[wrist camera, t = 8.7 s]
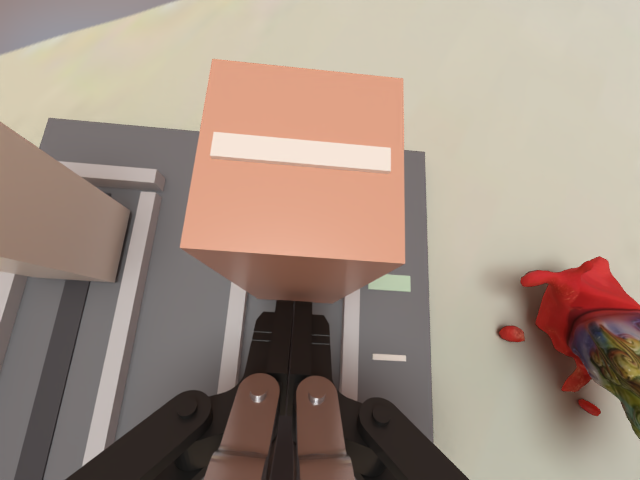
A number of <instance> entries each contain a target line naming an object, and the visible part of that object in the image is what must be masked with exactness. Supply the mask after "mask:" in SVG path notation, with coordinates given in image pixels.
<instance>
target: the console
mask: <svg viewBox="0 0 640 480" xmlns="http://www.w3.org/2000/svg"><path fill="white" fill-rule="evenodd" d="M199 133H200V132H199V131H188V130H177V129H166V128H155V127H144V126H133V125H122V124H111V123H100V122H89V121H78V120H66V119H55V118H49V119H48V122H47V125H46V128H45V131H44V135H43V138H42V141H41V144H40V147H39V149H41V150H42V151H44V152H45V153H47V154H48V155H50V156H51V157H53V158H54V159H56V160H57V161H58V162H60V163H61V164H63V165H64V166H66V167H67V168H69V169H70V170H72V171H73V172H75V173H76V174H77V175H79V176H80V177H82V178H83V179H85V180H86V181H88V182H89V183H91V184H92V185H94V186H95V187H97V188H98V189H99V190H101V191H102V192H104V193H105V194H107V195H108V196H110V197H111V198H113V199H114V200H116V201H117V202H118V203H120V204H121V205H123V206H124V207H126V208H127V209H129V210H130V215H129V220H128V224H127V229H126V233H125V238H124V242H123V247H122V251H121V256H120V261H119V265H118V270H117V274H116V279H115V283H113V282H97V281H82V280H66V279H50V278H35V277H29V276H23V275H18V274H12V273H7V272H1V271H0V480H65V479H67V478H68V477H69V476H70V475H72V474H73V473H74V472H76V471H77V470H78V469H80V468H81V467H82V466H84V465H85V464H86V463H88V462H89V461H90V460H92V459H93V458H94V457H96V456H97V455H98V454H100V453H101V452H102V451H104V450H105V449H106V448H107V447H109V446H110V445H111V444H113V443H114V442H115V441H117V440H118V439H119V438H121V437H122V436H123V435H125V434H126V433H127V432H129V431H130V430H131V429H133V428H134V427H135V426H137V425H138V424H139V423H141V422H142V421H143V420H145V419H146V418H147V417H148V416H150V415H151V414H152V413H154V412H155V411H156V410H158V409H159V408H160V407H162V406H163V405H164V404H166V403H167V402H168V401H170V400H171V399H172V398H174V397H175V396H176V395H178V394H180V393H182V392H185V391H188V390H199V391H202V392H204V393H205V394H207V396H212V395H216V394H220V393H223V392H226V391H228V390H230V389H232V388H234V387H235V386H236V385H237V384H238V383H239V382H240V381H241V379H242V378H243V376H244V372H245V368H246V363H247V359H248V354H249V350H250V345H251V341H252V336H253V333H254V327H255V323H256V320H257V318H258V317H259V316H260V315H261V313H262V312H263V311H264V312H275V308H276V301H277V300H267V299H257V298H256V297H254V296H253V295H251V294H250V293H248V292H247V291H245V290H243V289H242V288H240V287H239V286H237V285H236V284H234V283H233V282H231V281H230V280H228V279H227V278H225V277H224V276H222V275H221V274H219V273H217V272H216V271H214V270H213V269H211V268H210V267H208V266H207V265H205V264H204V263H202V262H201V261H199V260H198V259H196V258H194V257H193V256H191V255H190V254H188V253H187V252H185V251H184V250H182V249H181V248H180V243H181V237H182V231H183V226H184V220H185V214H186V208H187V203H188V197H189V191H190V185H191V179H192V174H193V168H194V162H195V156H196V150H197V145H198V139H199ZM404 201H405V264H404V265H402V266H400V267H398V268H396V269H395V270H393V271H391V272H389V273H387V274H386V275H384V276H382V277H380V278H378V279H376V280H375V281H373V282H371V283H369V284H367V285H365V286H364V287H362V288H360V289H358V290H356V291H354V292H353V293H351V294H349V295H347V296H345V297H343V298H342V299H340V300H338V301H336V302H334V303H333V304H331V303H315V302H312V314H314V315H324V316H325V318H326V320H327V321H328V323H329V327H330V347H331V366H332V380H333V383H334V385H335V387H336V388H337V390H338V391H339V392H340V393H341V394H343V395H344V396H346V397H348V398H350V399H353V400H355V401H358V402H361V403H363V402H364V401H365V400H367V399H369V398H372V397H380V398H384V399H386V400H388V401H390V402H392V403H393V404H394V405H395V406H396V407H397V408H398V409H399V410H400V411H401V412H402V413H403V414H404V415H405V416H406V417H407V418H408V419H409V420H410V421H411V422H412V423H413V424H414V425H415V426H416V427H417V428H418V429H419V430H420V431H421V432H422V433H423V434H424V435H425V436H426V437H427V438H428V439H429V440H430V441H431V442H432V443H433V413H432V380H431V346H430V312H429V278H428V245H427V211H426V177H425V152H420V151H409V150H404ZM294 312H295V301H294V307H293V323H292V337H293V324H294ZM292 337H291V349H292ZM291 349H290V361H289V374H290V362H291ZM289 374H288V386H287V398H286V410H285V415H279V424H278V439H277V445H276V451H275V457H274V462H273V468H272V474H271V480H293V445H292V439H293V438H292V434H291V427H292V416H287V405H288V390H289ZM204 477H205V476H204ZM204 477H203V478H202V479H201V480H204ZM354 479H355V480H357V479H356V478H355V477H354Z"/></svg>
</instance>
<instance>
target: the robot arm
mask: <svg viewBox="0 0 640 480" xmlns="http://www.w3.org/2000/svg"><path fill="white" fill-rule="evenodd" d="M293 307H294V301H291V300H277V301H276V308H275V312H264V311H263V312H262V313H261V315H260V316H259V317H258V318H257V320H256V323H255V327H254V333H253V336H252V341H251V345H250V350H249V354H248V359H247V363H246V368H245V372H244V376H243V378H242V379H241V381H240V382H239V383H238V384H237V385H236V386H235V387H234V388H232V389H230V390H228V391H226V392H223V393H220V394H216V395H212V396H207V394H205V393H204V392H202V391H199V390H188V391H185V392H182V393H180V394H178V395H176V396H175V397H174V398H172V399H171V400H170V401H168V402H167V403H166V404H164V405H163V406H162V407H160V408H159V409H158V410H156V411H155V412H154V413H152V414H151V415H150V416H148V417H147V418H146V419H145V420H143V421H142V422H141V423H139V424H138V425H137V426H135V427H134V428H133V429H131V430H130V431H129V432H127V433H126V434H125V435H123V436H122V437H121V438H119V439H118V440H117V441H115V442H114V443H113V444H111V445H110V446H109V447H107V448H106V449H105V450H104V451H102V452H101V453H100V454H98V455H97V456H96V457H94V458H93V459H92V460H90V461H89V462H88V463H86V464H85V465H84V466H82V467H81V468H80V469H78V470H77V471H76V472H74V473H73V474H72V475H70V476H69V477H68V478H67V479H65V480H201V479H202V478H203V477H204V476H205V477H204V480H271V474H272V468H273V462H274V457H275V451H276V445H277V439H278V424H279V415H285V410H286V398H287V386H288V374H289V361H290V349H291V337H292V323H293ZM287 416H292V427H291V434H292V438H293V439H292V445H293V480H355V479H354V477H355V478H356V479H357V480H469V479H468V478H467V477H466V476H465V475H464V474H463V473H462V472H461V471H460V470H459V469H458V468H457V467H456V466H455V465H454V464H453V463H452V462H451V461H450V460H449V459H448V458H447V457H446V456H445V455H444V454H443V453H442V452H441V451H440V450H439V449H438V448H437V447H436V446H435V445H434V444H433V443H432V442H431V441H430V440H429V439H428V438H427V437H426V436H425V435H424V434H423V433H422V432H421V431H420V430H419V429H418V428H417V427H416V426H415V425H414V424H413V423H412V422H411V421H410V420H409V419H408V418H407V417H406V416H405V415H404V414H403V413H402V412H401V411H400V410H399V409H398V408H397V407H396V406H395V405H394V404H393V403H392V402H390V401H388V400H386V399H384V398H380V397H372V398H369V399H367V400H365V401H364V402H363V403H361V402H358V401H355V400H353V399H350V398H348V397H346V396H344V395H343V394H341V393H340V392H339V391H338V390H337V388H336V387H335V385H334V383H333V380H332V366H331V347H330V327H329V323H328V321H327V320H326V318H325V316H324V315H314V314H312V302H306V301H295V312H294V324H293V337H292V349H291V362H290V374H289V390H288V405H287Z"/></svg>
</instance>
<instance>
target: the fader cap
mask: <svg viewBox="0 0 640 480" xmlns="http://www.w3.org/2000/svg"><path fill="white" fill-rule="evenodd" d="M180 248H181V249H182V250H184V251H185V252H187V253H188V254H190V255H191V256H193V257H194V258H196V259H198V260H199V261H201V262H202V263H204V264H205V265H207V266H208V267H210V268H211V269H213V270H214V271H216V272H217V273H219V274H221V275H222V276H224V277H225V278H227V279H228V280H230V281H231V282H233V283H234V284H236V285H237V286H239V287H240V288H242V289H243V290H245V291H247V292H248V293H250V294H251V295H253V296H254V297H256V298H257V299H267V300H291V301H306V302H315V303H331V304H333V303H334V302H336V301H338V300H340V299H342V298H343V297H345V296H347V295H349V294H351V293H353V292H354V291H356V290H358V289H360V288H362V287H364V286H365V285H367V284H369V283H371V282H373V281H375V280H376V279H378V278H380V277H382V276H384V275H386V274H387V273H389V272H391V271H393V270H395V269H396V268H398V267H400V266H402V265H404V264H405V201H404V112H403V79H402V78H392V77H383V76H373V75H363V74H353V73H344V72H334V71H324V70H315V69H305V68H295V67H286V66H276V65H266V64H257V63H247V62H237V61H228V60H218V59H212V64H211V69H210V75H209V81H208V87H207V93H206V98H205V104H204V110H203V116H202V122H201V127H200V133H199V139H198V145H197V150H196V156H195V162H194V168H193V174H192V179H191V185H190V191H189V197H188V203H187V208H186V214H185V220H184V226H183V231H182V237H181V243H180Z"/></svg>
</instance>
